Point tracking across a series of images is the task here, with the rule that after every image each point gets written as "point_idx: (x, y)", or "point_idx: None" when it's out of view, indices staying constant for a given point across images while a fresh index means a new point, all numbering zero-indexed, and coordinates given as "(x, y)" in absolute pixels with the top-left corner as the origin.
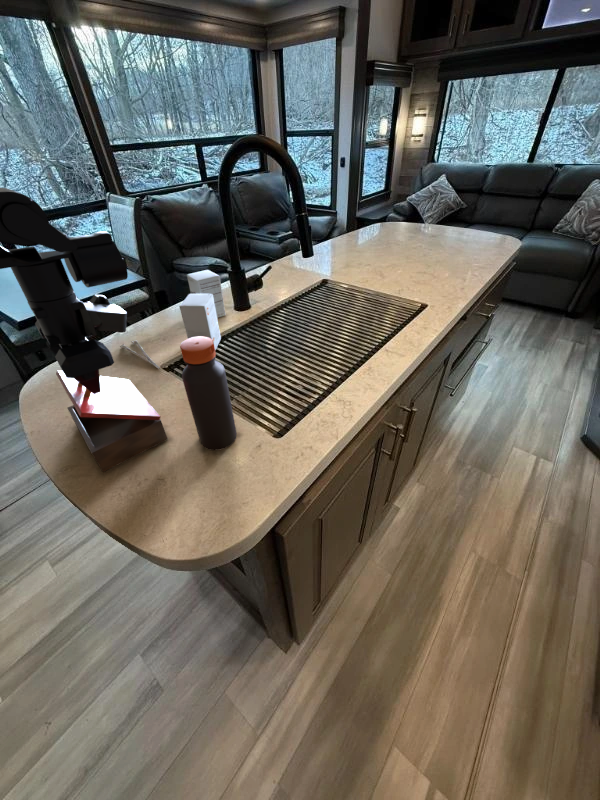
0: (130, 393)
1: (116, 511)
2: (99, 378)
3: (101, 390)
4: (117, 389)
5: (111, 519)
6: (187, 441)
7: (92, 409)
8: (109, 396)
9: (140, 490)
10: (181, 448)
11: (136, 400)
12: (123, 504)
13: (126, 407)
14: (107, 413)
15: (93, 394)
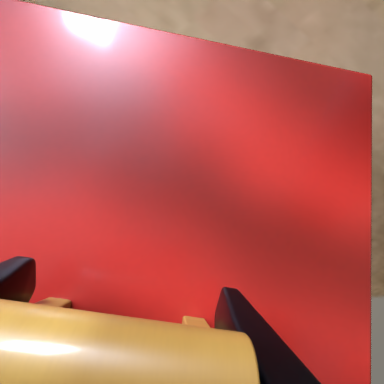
0: (148, 79)
1: (372, 275)
2: (317, 380)
3: (117, 215)
4: (100, 121)
5: (377, 287)
6: (377, 45)
7: (337, 363)
8: (188, 207)
9: (379, 225)
10: (379, 79)
11: (225, 93)
12: (372, 260)
13: (303, 183)
14: (369, 306)
15: (167, 281)
